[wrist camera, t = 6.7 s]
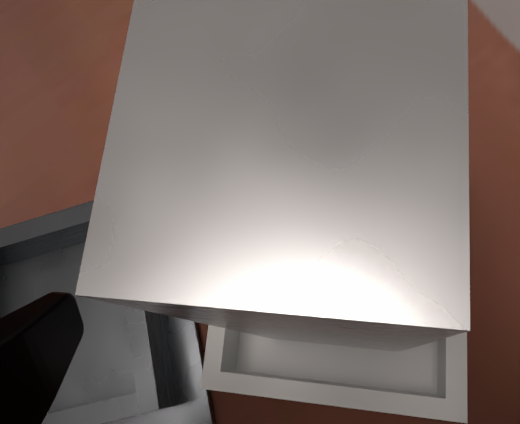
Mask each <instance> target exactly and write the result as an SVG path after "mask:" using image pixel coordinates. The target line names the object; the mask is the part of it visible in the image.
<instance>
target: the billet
mask: <svg viewBox="0 0 520 424" xmlns="http://www.w3.org/2000/svg"><path fill="white" fill-rule="evenodd" d="M75 295H77V296H82V297H86V298H91V299H95V300H100V301H104V302H109V303H113V304H118V305H122V306H127V307H131V308H136V309H140V310H145V311H149V312H154V313H158V314H163V315H167V316H172V317H176V318H181V319H185V320H190V321H194V322H199V323H203V324H208V325H212V326H217V327H221V328H226V329H230V330H235V331H239V332H244V333H248V334H253V335H257V336H262V337H266V338H271V339H278V340H288V341H298V342H307V343H317V344H327V345H337V346H346V347H356V348H366V349H376V350H385V351H395V352H401V351H404V350H408V349H411V348H414V347H418V346H421V345H424V344H428V343H431V342H434V341H438V340H441V339H444V338H448V337H451V336H454V335H457V334H461V333H464V332H467V331H470V243H469V122H468V0H134V4H133V9H132V14H131V19H130V24H129V29H128V34H127V39H126V44H125V49H124V53H123V58H122V63H121V68H120V73H119V78H118V83H117V88H116V93H115V98H114V103H113V108H112V113H111V118H110V123H109V128H108V133H107V138H106V143H105V148H104V153H103V158H102V163H101V168H100V173H99V178H98V183H97V188H96V193H95V198H94V203H93V208H92V213H91V218H90V222H89V227H88V232H87V237H86V242H85V247H84V252H83V257H82V262H81V267H80V272H79V277H78V282H77V287H76V292H75Z"/></svg>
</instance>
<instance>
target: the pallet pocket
mask: <svg viewBox="0 0 520 424" xmlns="http://www.w3.org/2000/svg"><path fill="white" fill-rule="evenodd" d="M93 203H94V200H93V201H90V202H87V203H83V204H80V205H77V206H74V207H70V208H67V209H64V210H60V211H57V212H54V213H50V214H47V215H44V216H41V217H37V218H34V219H31V220H27V221H24V222H21V223H17V224H14V225H11V226H8V227H4V228H1V229H0V318H1V317H3V316H5V315H7V314H9V313H11V312H13V311H15V310H17V309H19V308H21V307H23V306H25V305H27V304H29V303H31V302H33V301H34V300H36V299H38V298H40V297H42V296H44V295H46V294H48V293H50V292H65V293H70V294H72V295H73V296H74V297H75V299H76V302H77V305H78V308H79V311H80V314H81V317H82V320H83V324H84V332H83V336H82V339H81V341H80V343H79V346H78V348H77V350H76V352H75V355H74V357H73V359H72V362H71V364H70V366H69V368H68V371H67V373H66V375H65V377H64V380H63V382H62V384H61V386H60V389H59V391H58V393H57V395H56V397H55V399H54V401H53V404H52V406H51V408H50V409H49V411H48V413H47V415H46V417H45V419H44V420H43V422H42V424H216V423H215V418H214V412H213V406H212V401H211V395H210V390H207V389H200V388H201V380H202V372H203V365H204V356H203V351H202V345H201V340H200V334H199V328H198V323H197V322H194V321H190V320H185V319H181V318H176V317H172V316H167V315H163V314H158V313H154V312H149V311H145V310H140V309H136V308H131V307H127V306H122V305H118V304H113V303H109V302H104V301H100V300H95V299H91V298H86V297H82V296H77V295H75V292H76V287H77V282H78V277H79V272H80V267H81V262H82V257H83V252H84V247H85V242H86V237H87V232H88V227H89V222H90V218H91V213H92V208H93Z"/></svg>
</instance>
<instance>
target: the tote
mask: <svg viewBox="0 0 520 424" xmlns="http://www.w3.org/2000/svg"><path fill="white" fill-rule="evenodd" d="M200 389H207V390H215V391H222V392H230V393H238V394H245V395H253V396H261V397H268V398H276V399H284V400H291V401H299V402H307V403H314V404H322V405H330V406H337V407H345V408H353V409H360V410H368V411H376V412H383V413H391V414H399V415H406V416H414V417H422V418H429V419H437V420H445V421H453V422H460V423H468V420H467V332H464V333H461V334H457V335H454V336H451V337H448V338H444V339H441V340H438V341H434V342H431V343H428V344H424V345H421V346H418V347H414V348H411V349H408V350H404V351H401V352H395V351H385V350H376V349H366V348H356V347H346V346H337V345H327V344H317V343H307V342H298V341H288V340H278V339H271V338H266V337H262V336H257V335H253V334H248V333H244V332H239V331H235V330H230V329H226V328H221V327H217V326H212V325H209V326H208V333H207V341H206V349H205V357H204V365H203V372H202V380H201V388H200Z"/></svg>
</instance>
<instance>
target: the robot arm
mask: <svg viewBox="0 0 520 424" xmlns="http://www.w3.org/2000/svg"><path fill="white" fill-rule="evenodd" d="M83 332H84V324H83V320H82V317H81V314H80V311H79V308H78V305H77V302H76V299H75V297H74V296H73V295H72V294H70V293H65V292H50V293H48V294H46V295H44V296H42V297H40V298H38V299H36V300H34V301H33V302H31V303H29V304H27V305H25V306H23V307H21V308H19V309H17V310H15V311H13V312H11V313H9V314H7V315H5V316H3V317H1V318H0V424H42V422H43V420H44V419H45V417H46V415H47V413H48V411H49V409H50V408H51V406H52V404H53V401H54V399H55V397H56V395H57V393H58V391H59V389H60V386H61V384H62V382H63V380H64V377H65V375H66V373H67V371H68V368H69V366H70V364H71V362H72V359H73V357H74V355H75V352H76V350H77V348H78V346H79V343H80V341H81V339H82V336H83Z"/></svg>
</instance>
